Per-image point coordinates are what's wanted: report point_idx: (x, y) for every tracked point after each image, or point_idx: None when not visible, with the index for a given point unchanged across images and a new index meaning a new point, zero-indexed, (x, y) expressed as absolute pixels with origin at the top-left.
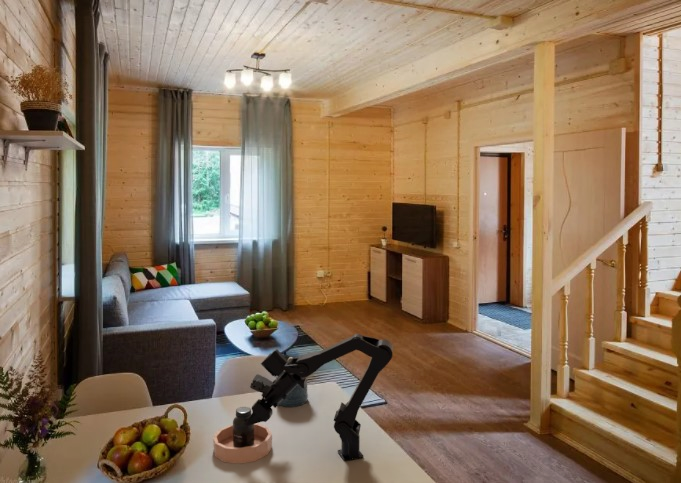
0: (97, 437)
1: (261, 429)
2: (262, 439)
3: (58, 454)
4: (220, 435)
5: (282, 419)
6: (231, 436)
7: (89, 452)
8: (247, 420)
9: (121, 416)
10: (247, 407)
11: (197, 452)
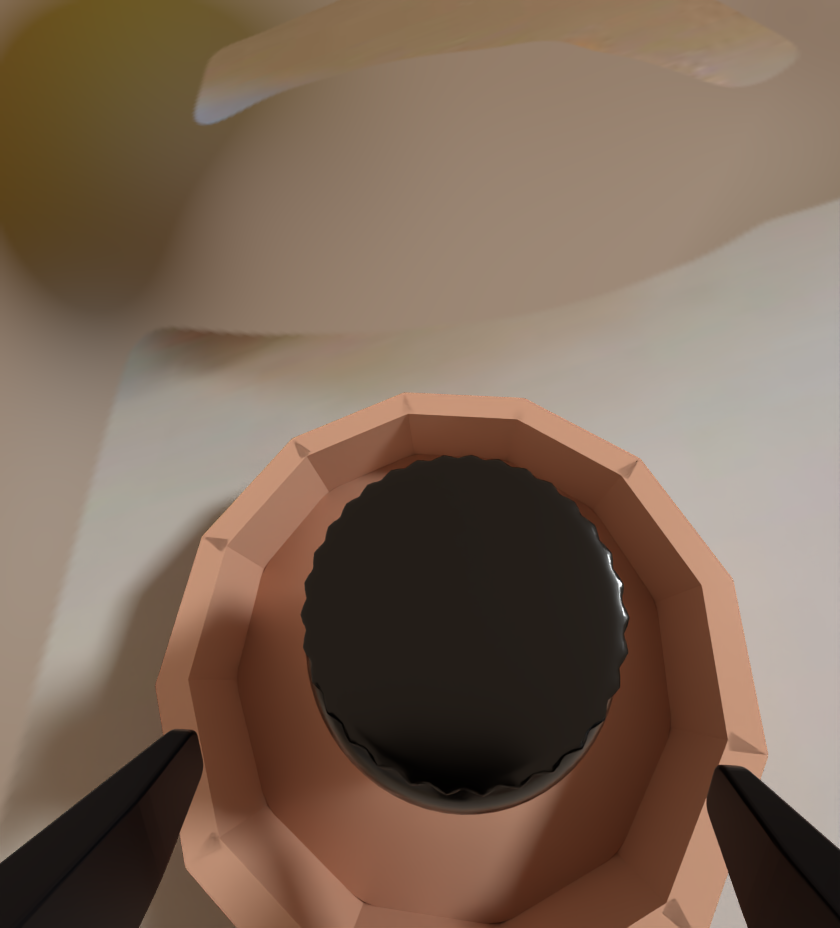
0: (482, 31)
1: (681, 810)
2: (593, 815)
3: (354, 9)
4: (487, 433)
5: None
6: (584, 506)
7: (369, 55)
8: (79, 803)
9: (673, 18)
10: (602, 664)
11: (380, 370)
